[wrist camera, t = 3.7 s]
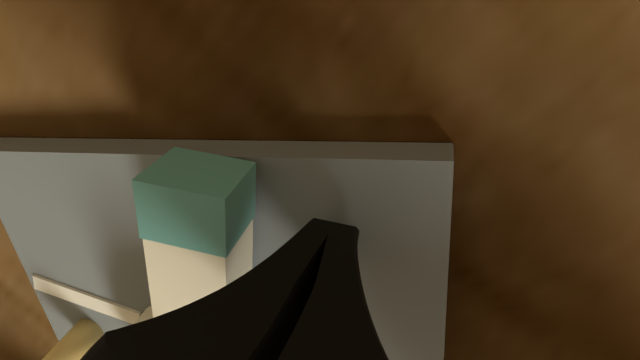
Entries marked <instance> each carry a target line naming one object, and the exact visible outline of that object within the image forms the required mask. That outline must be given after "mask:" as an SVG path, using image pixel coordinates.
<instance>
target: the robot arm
mask: <svg viewBox="0 0 640 360" xmlns="http://www.w3.org/2000/svg"><path fill="white" fill-rule="evenodd" d="M358 238H359V230H358V228H357V227H355V226H351V225H346V224H341V223H336V222H331V221H327V220H322V219H317V218H313V219H311V220H310V221H309V222H308V223H307V224H306V225H305V226H304V227H303V228H302V229H301V230H300V231H298V232H297V233H296V234H295V235H294V236H293V237H292V238H291V239H290V240H288V241H287V242H286V243H285V244H284V245H282V246H281V247H280V248H279V249H278V250H276V251H275V252H274V253H273V254H272V255H270V256H269V257H268V258H266V259H265V260H264V261H262V262H261V263H259V264H258V265H257V266H255V267H254V268H253V269H251V270H250V271H248V272H247V273H245V274H244V275H242V276H241V277H239V278H237V279H236V280H234V281H233V282H231V283H229V284H227V285H226V286H224V287H222V288H221V289H219V290H217V291H215V292H213V293H211V294H209V295H207V296H205V297H203V298H201V299H199V300H196V301H194V302H192V303H190V304H188V305H185V306H183V307H181V308H178V309H176V310H173V311H171V312H168V313H165V314H162V315H160V316H157V317H154V318H151V319H148V320H145V321H142V322H138V323H135V324H132V325H128V326H125V327H122V328H118V329H115V330H111V331H107V332H106V333H105V334H104V335H103V336H102V337H101V338H100V339H99V340H98V341H97V342H96V343H95V344H94V345H93V346H92V347H91V348H90V349H89V350H88V351H87V352H86V353H85V354H84V356H83V357H82V358H81V359H80V360H389V359H388V357H387V355H386V353H385V351H384V348H383V346H382V344H381V342H380V339H379V337H378V334H377V332H376V329H375V327H374V324H373V321H372V318H371V315H370V312H369V309H368V305H367V302H366V298H365V294H364V290H363V286H362V281H361V275H360V269H359V262H358V249H357V244H358Z"/></svg>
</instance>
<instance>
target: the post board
mask: <svg viewBox="0 0 640 360" xmlns="http://www.w3.org/2000/svg"><path fill="white" fill-rule="evenodd" d="M173 147H179V148H184V149H190V150H195V151H200V152H205V153H211V154H216V155H221V156H226V157H232V158H237V159H242V160H247V161H253V162H256V197H255V217H254V218H253V255H252V269H253V268H254V267H255V266H257V265H258V264H259V263H261V262H262V261H264V260H265V259H266V258H268V257H269V256H270V255H272V254H273V253H274V252H275V251H276V250H278V249H279V248H280V247H281V246H282V245H284V244H285V243H286V242H287V241H288V240H290V239H291V238H292V237H293V236H294V235H295V234H296V233H297V232H298V231H300V230H301V229H302V228H303V227H304V226H305V225H306V224H307V223H308V222H309V221H310V220H311V219H313V218H317V219H322V220H327V221H331V222H336V223H341V224H346V225H351V226H355V227H357V228H358V230H359V238H358V244H357V249H358V262H359V269H360V275H361V281H362V286H363V290H364V294H365V298H366V302H367V305H368V309H369V312H370V315H371V318H372V321H373V324H374V327H375V329H376V332H377V334H378V337H379V339H380V342H381V344H382V346H383V348H384V351H385V353H386V355H387V357H388V359H389V360H444V345H445V326H446V307H447V288H448V269H449V249H450V230H451V211H452V192H453V173H454V146H453V143H415V142H335V141H254V140H173V139H93V138H12V137H0V219H1V221H2V223H3V225H4V227H5V229H6V231H7V233H8V236H9V238H10V240H11V242H12V244H13V246H14V248H15V250H16V252H17V254H18V257H19V259H20V261H21V263H22V265H23V267H24V269H25V271H26V273H27V275H28V277H29V280H30V282H31V284H32V286H33V288H34V290H35V292H36V294H37V296H38V298H39V301H40V303H41V305H42V307H43V309H44V311H45V313H46V315H47V317H48V319H49V322H50V324H51V326H52V328H53V330H54V332H55V334H56V336H57V338H58V340H59V342H58V343H57V344H56V345H55V346H54V347H53V348H52V349H51V350H50V351H49V352H48V354H47V355H46V356H45V357H44V358H43V359H42V360H80V359H81V358H82V357H83V356H84V354H85V353H86V352H87V351H88V350H89V349H90V348H91V347H92V346H93V345H94V344H95V343H96V342H97V341H98V340H99V339H100V338H101V337H102V336H103V335H104V334H105V333H106V332H107V331H111V330H115V329H118V328H122V327H125V326H128V325H132V324H134V323H135V322H136V321H137V319H138V318H139V317H140V316H141V314H142V313H143V312H144V311H145V310H146V308H148V307H149V306H151V299H150V291H149V284H148V276H147V269H146V262H145V254H144V247H143V239H141V238H139V231H138V223H137V216H136V209H135V202H134V194H133V187H132V179H133V178H135V177H136V176H137V175H139V174H140V173H141V172H142V171H144V170H145V169H146V168H148V167H149V166H150V165H151V164H153V163H154V162H155V161H157V160H158V159H159V158H160V157H162V156H163V155H164V154H166V153H167V152H168V151H169V150H171V149H172V148H173Z"/></svg>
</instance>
